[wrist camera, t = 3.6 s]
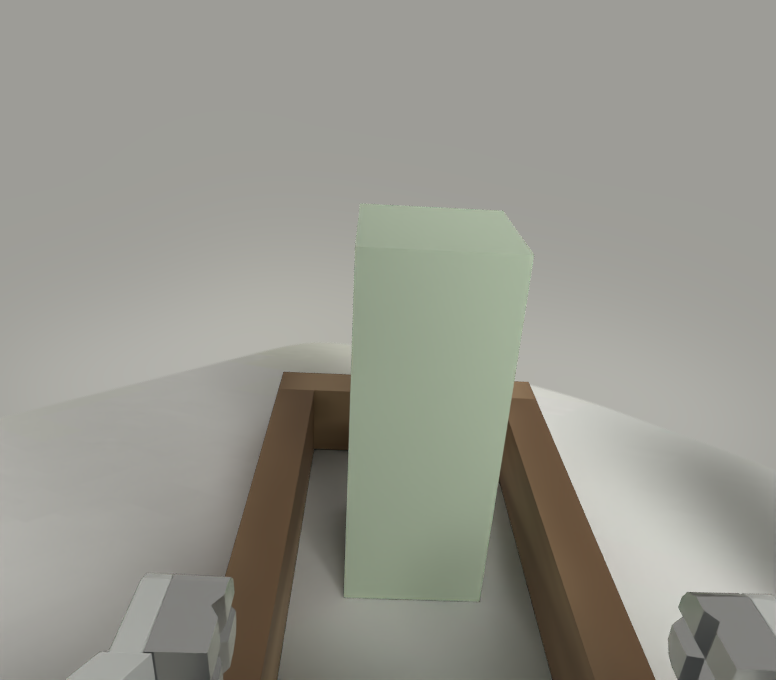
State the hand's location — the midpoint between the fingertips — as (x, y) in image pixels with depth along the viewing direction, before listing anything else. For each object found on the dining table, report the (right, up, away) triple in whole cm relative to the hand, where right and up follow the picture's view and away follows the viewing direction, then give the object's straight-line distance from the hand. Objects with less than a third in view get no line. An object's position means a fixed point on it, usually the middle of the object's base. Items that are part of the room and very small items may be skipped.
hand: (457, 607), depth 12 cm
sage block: (0, -3, +12) cm, 12 cm away
